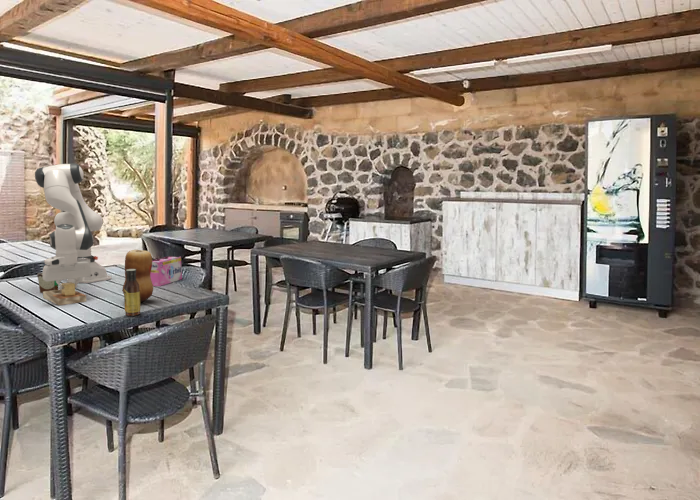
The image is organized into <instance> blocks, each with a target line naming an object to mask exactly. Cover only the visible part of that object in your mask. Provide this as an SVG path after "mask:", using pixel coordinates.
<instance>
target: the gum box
mask: <svg viewBox="0 0 700 500" xmlns="http://www.w3.org/2000/svg"><path fill="white" fill-rule="evenodd" d="M182 269H183V268H182V256H173V255H167V256H164V257H159V258H156V259H152V268H151V274H150V277H151V281H152V284H153V287H161V286H165V285H168V284H171V283H175V282H176V281H181V280H183V271H182Z"/></svg>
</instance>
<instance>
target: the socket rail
mask: <svg viewBox="0 0 700 500" xmlns="http://www.w3.org/2000/svg"><path fill="white" fill-rule="evenodd" d="M42 297H43V299H45V300H47V301H49V302H51V303H52V304H55V305H57V306H63V305H70V304H71V305H72V304H77V303H84V302H86V303H87V295H86V294H84V293H82V292H80V291H77V290H75V296H67V297H64V296H62V289H61V290H60V289H58V290H52V291H44V292H43V293H42Z"/></svg>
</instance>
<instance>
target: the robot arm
mask: <svg viewBox="0 0 700 500" xmlns="http://www.w3.org/2000/svg"><path fill="white" fill-rule="evenodd" d="M84 175H85V174H84V171H83V168H82V167H81V165H80V164H78V163H75V162H73V163H61V164H60V163H59V164H56V165H49V166H43V167H39V168H37V169H35V171H34V180H35V182H36V184H37V185H38V187H40V188H42V189H43V192H44V198H45V201H46V202H47V204H48V205H49V206H51V207H52V208H54V209H56V210H60V211H61V212H58V213H57V214H56V215H55V216H54V220H53V223H54V226H55V230H54V231H52V232H51V233H50V234H49V239H50V240H49V243H50V244H49V246H50V247H51V248H52V249H53V250H56V251H55V255H54V256H52V257H48V258H45V259H44V264H45V265H44V266H43V268H42V273H43V280H44V281H47V282H48V281H56V283H57V284H58V290H61V289H64V288H63V287H64V286H63V285H61V283H62V281H65V280H66V281H67V282H66V283H69V282H72V283H75V289H76V288H78V284H80V283H81V284H86V283H87V284H90V283H96V282H102V281H107V280H112V276H111V275H108V272H107V270H106V269H107V268H105V267H104V266H103V265H101V264H99V263H98V262H96V261H97V260H98V259H99V256H97V255H92V247H93V245H94V235H93V234H92V232H96V231H99V230H100V229H101V228H103V227H102V226H103V224H104V221H103V218H102V215H100V214H99V213H98V212H96V211H95V210H93V209H92V208H91V207H90V206H89V205H88V204H87V203H86V201H85V200H84V196H83V195H82V192H81V189H80V186H79V184H80V183H82V182H83V180H84Z"/></svg>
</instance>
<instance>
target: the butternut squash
mask: <svg viewBox="0 0 700 500" xmlns="http://www.w3.org/2000/svg"><path fill="white" fill-rule="evenodd" d="M152 260H153V257H152V254H151V252H150V251H148V250H146V249H145V250H142V249H132V250H131V249H130V250H129V251H127V253H126V255H125V259H124V281H123V285H122V292H123V294H124V286H125V283H126V280H127V274H126V270H127V269H136V281H137V282H138V283H139V290H140V303H144V302H145V301H147V300H148V299H149V298H151V296H152V295H153V293H154V286H153V284H152V281H151V277H150V274H151V268H152Z"/></svg>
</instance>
